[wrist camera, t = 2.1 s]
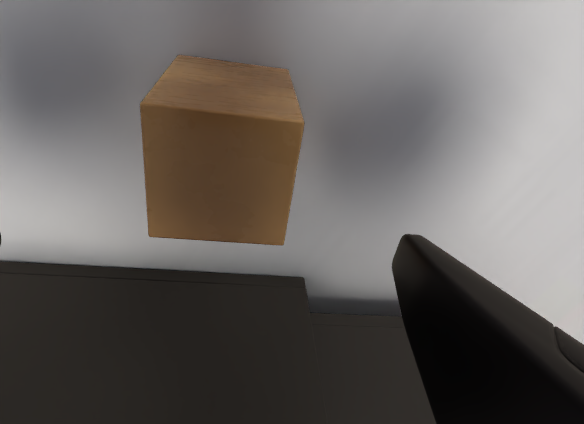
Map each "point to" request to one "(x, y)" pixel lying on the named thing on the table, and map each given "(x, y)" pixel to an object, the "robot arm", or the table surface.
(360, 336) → the red-fronted drawer
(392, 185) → the table surface
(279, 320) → the drawer cabinet casing
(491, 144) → the table surface
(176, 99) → the oak block
